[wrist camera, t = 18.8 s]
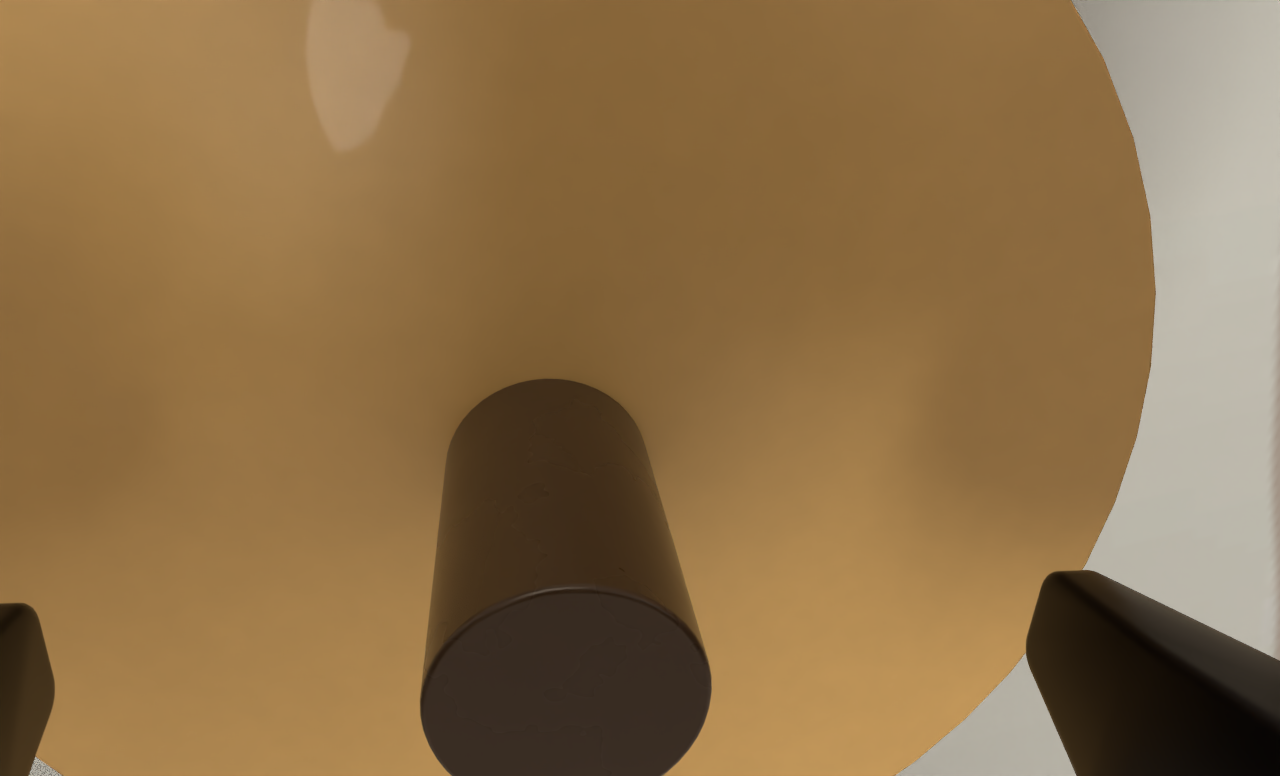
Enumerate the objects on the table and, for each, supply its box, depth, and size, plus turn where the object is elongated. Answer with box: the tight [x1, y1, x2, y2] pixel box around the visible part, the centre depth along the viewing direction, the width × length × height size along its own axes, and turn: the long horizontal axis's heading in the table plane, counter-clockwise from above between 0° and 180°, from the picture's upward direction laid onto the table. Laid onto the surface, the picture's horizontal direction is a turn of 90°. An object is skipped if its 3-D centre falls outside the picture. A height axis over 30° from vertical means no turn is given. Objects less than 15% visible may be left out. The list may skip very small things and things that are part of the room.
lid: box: [0, 0, 1156, 776], centre depth 10 cm, size 15×15×5 cm
